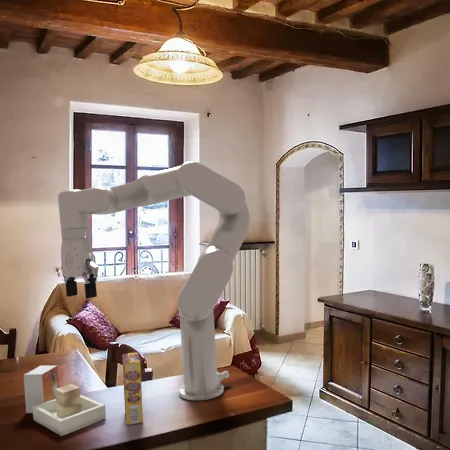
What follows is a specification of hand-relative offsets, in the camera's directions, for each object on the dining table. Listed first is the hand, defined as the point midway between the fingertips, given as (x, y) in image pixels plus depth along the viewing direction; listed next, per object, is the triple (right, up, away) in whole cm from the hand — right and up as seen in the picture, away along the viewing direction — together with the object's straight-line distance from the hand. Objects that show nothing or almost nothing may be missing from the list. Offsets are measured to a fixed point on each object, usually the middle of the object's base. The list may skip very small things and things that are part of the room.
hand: (81, 296), depth 135 cm
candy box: (+17, -29, -12) cm, 35 cm away
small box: (-10, -30, -1) cm, 32 cm away
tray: (0, -30, -10) cm, 31 cm away
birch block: (0, -29, -11) cm, 31 cm away
